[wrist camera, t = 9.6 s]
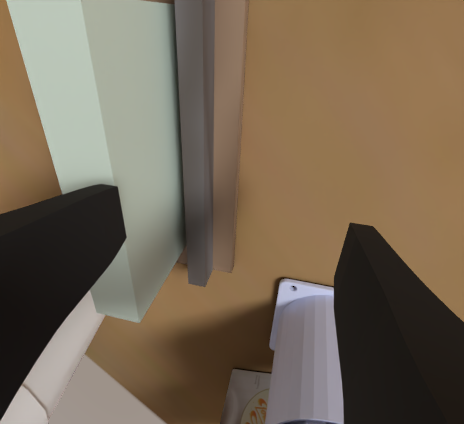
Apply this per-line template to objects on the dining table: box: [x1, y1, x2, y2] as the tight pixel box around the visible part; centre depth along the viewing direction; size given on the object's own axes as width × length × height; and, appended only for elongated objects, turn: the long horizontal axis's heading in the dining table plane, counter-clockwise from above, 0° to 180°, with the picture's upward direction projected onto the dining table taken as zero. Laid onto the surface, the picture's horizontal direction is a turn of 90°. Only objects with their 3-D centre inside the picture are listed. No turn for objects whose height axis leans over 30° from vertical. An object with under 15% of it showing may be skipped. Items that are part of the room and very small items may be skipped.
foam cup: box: [0, 290, 105, 424], centre depth 22 cm, size 10×9×13 cm
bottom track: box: [142, 0, 249, 287], centre depth 18 cm, size 9×18×3 cm, turn 178°
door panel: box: [6, 0, 187, 323], centre depth 15 cm, size 2×14×7 cm, turn 178°
